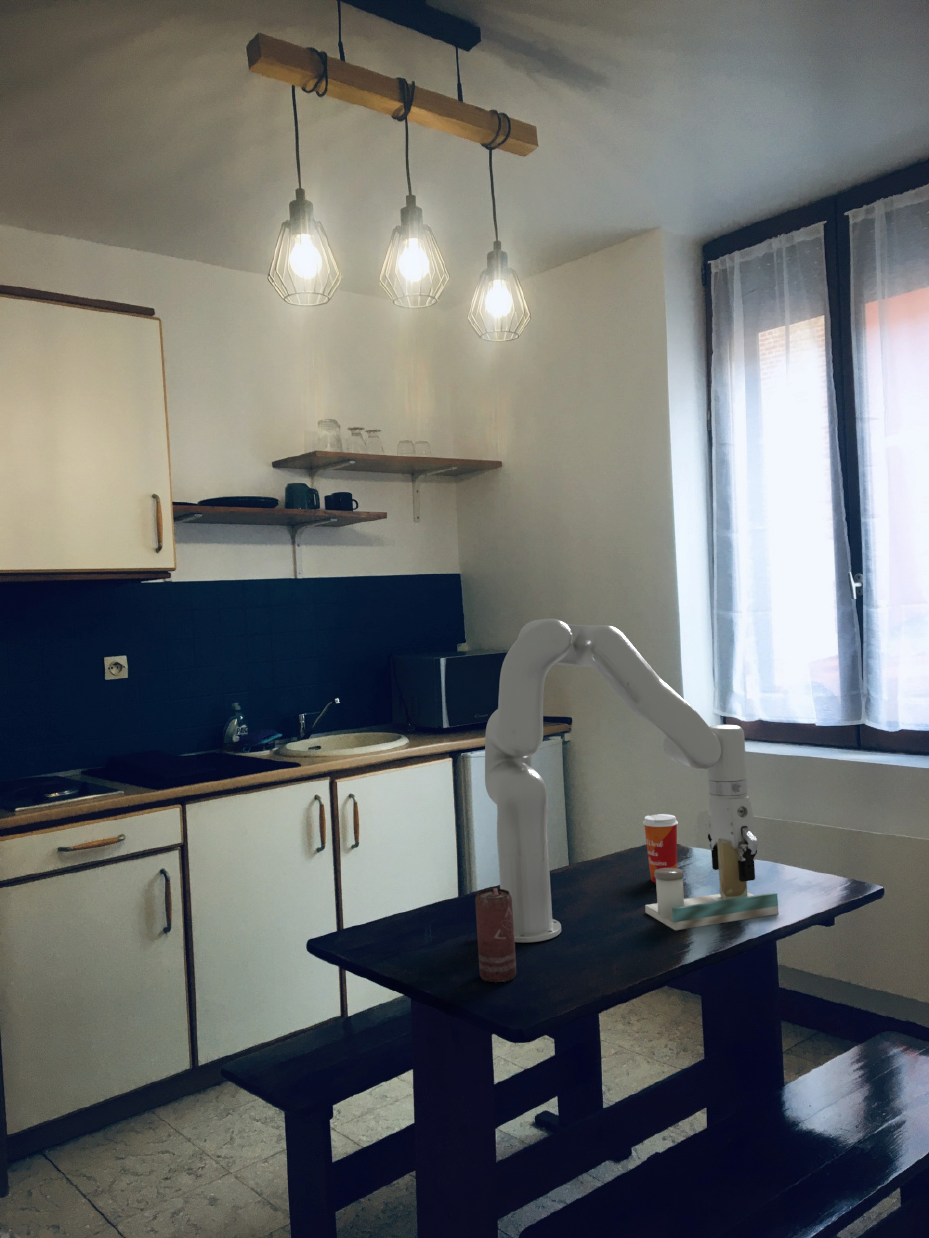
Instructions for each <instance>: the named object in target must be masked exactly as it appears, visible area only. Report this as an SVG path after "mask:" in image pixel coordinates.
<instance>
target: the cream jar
mask: <svg viewBox="0 0 929 1238" xmlns="http://www.w3.org/2000/svg"><path fill="white" fill-rule="evenodd" d="M654 873H655V878H656V883H655V885H656V900H657V901H656V903H657V904H658V914H659V915H660V916H663V917H672V908H676V907H682V906H684V899H685V897H684V881H683V880H684V879H683V878H684V870H683V869H681V868H678V867H677V868H660V869H657V870H655V871H654Z"/></svg>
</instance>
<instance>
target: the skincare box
mask: <svg viewBox="0 0 929 1238" xmlns="http://www.w3.org/2000/svg"><path fill="white" fill-rule="evenodd" d="M738 844H745V843H744V842H743V841H740V842H738ZM717 846H718V864H719V870H718V876H719V879H718V880H719V881H718V882H719V894H720V895H721V897H722V899H723V900H728V899H735V898H741V897H748V896H747V892H748V881H744V882H741V881H740V880H739V870H738V861H739V860H740V858H739V856H738V854H737V851H736V849H733V848H731V847H730V843H729V842H727V841H724V840H721V839H718V843H717ZM742 851H743V853H744V852H745V851H746V849H742Z"/></svg>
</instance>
